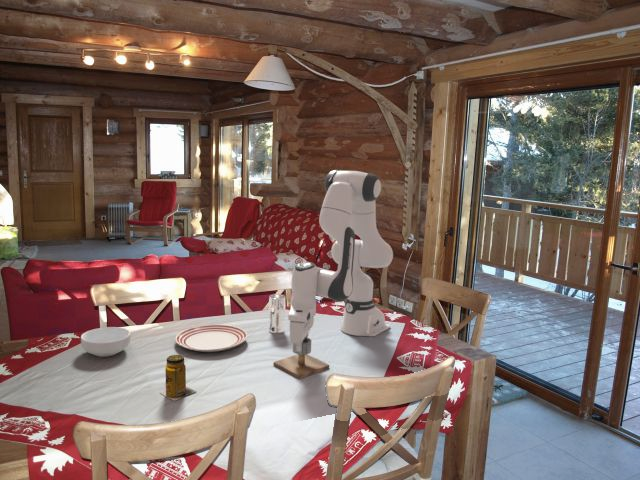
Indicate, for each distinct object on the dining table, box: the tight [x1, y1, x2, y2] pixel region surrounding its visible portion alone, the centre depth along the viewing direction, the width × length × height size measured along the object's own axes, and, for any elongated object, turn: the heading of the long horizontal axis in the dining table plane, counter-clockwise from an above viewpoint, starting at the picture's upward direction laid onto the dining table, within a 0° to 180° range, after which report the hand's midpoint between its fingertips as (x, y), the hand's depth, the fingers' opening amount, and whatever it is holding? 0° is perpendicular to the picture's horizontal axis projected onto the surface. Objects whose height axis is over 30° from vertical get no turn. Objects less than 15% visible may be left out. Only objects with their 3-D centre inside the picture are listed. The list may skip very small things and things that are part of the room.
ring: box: [292, 337, 313, 355], centre depth 190 cm, size 6×6×4 cm
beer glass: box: [268, 293, 286, 334], centre depth 224 cm, size 7×7×15 cm
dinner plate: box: [174, 324, 248, 353], centre depth 209 cm, size 27×27×3 cm
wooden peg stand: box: [272, 341, 330, 380], centre depth 190 cm, size 14×14×9 cm
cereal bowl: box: [80, 326, 131, 358], centre depth 196 cm, size 17×17×7 cm
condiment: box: [160, 354, 197, 402], centre depth 168 cm, size 7×8×12 cm
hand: (302, 346), depth 190 cm, fingers closed on ring, 6 cm apart
